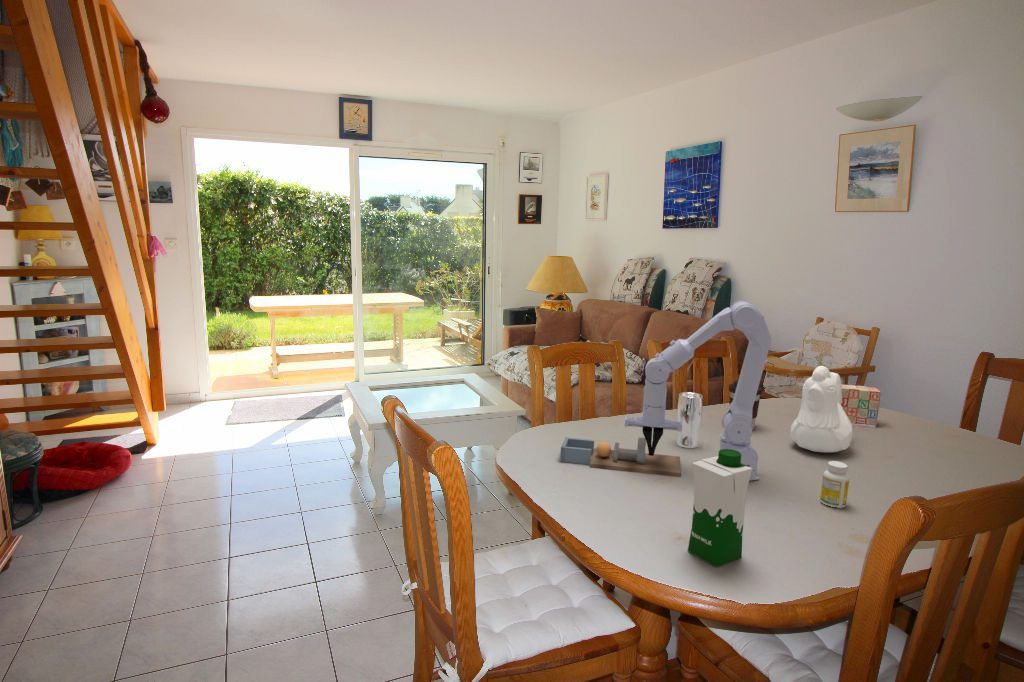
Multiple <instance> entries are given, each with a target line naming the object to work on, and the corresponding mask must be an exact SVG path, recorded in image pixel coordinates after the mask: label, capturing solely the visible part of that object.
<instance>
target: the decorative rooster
mask: <svg viewBox="0 0 1024 682" xmlns="http://www.w3.org/2000/svg"><path fill="white" fill-rule="evenodd" d="M841 380H842V379H841V377H840V374H839V373H837V372H834V371H833V372H831V371H830V370H829V368H827V366H824V365H818V366H816V367H815V369H814V370H813V371H812V375H811V376H809V377H808V378H806V380H805V381H804V384H803V386H802V394H801V404H800V405H801V406H800V407H799V411H798V414H797V417H796V418H795V419H794V420H793V422H792V424H791V426H790V432H789V434H790V435H789V437H790V440H791V441H793V442H794V443H796V445H797V446H798V447H800V448H802V449H806V450H808V451H811V452H815V453H817V452H818V453H838V452H840V451H845V450H847V449H848V448H849V446H850V444H851V442H852V440H853V425H852V424H851V422H850V420H849V419H848V417H847V415H846V413H845V412H844V410H843V408H842V406H841V403H842V393H841V392H842V385H843V384H842V381H841ZM841 384H842V385H841Z"/></svg>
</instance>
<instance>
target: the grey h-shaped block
mask: <svg viewBox="0 0 1024 682" xmlns="http://www.w3.org/2000/svg"><path fill="white" fill-rule="evenodd" d="M646 444H647V442H646V439H645V437H640V436H639V437H638V438H637V448H636V449H631V448H623V447H620V442H615V443H614V448H613V450H614V458H613V461H617V459H621V460H631V461H637V463H641V464H644V463H645V453H646V446H647V445H646Z"/></svg>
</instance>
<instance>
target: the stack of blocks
mask: <svg viewBox="0 0 1024 682" xmlns="http://www.w3.org/2000/svg"><path fill="white" fill-rule="evenodd" d="M841 385H842V392H841V393H842V403H841V406H842V408H843V410H844V412H845V413H846V415H847V417H848V419H849V420H850V422H851V423H853V424H866V425H876V426H877V423H878V417H879V410H880V404H881V394H882V393H881V392H882V391H880V390H879V389H878V388H877V387H871V386H866V385H851V384H842V383H841Z"/></svg>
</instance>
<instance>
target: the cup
mask: <svg viewBox="0 0 1024 682" xmlns="http://www.w3.org/2000/svg"><path fill="white" fill-rule="evenodd" d="M594 448H595V440H594V439H587V438H575V437H566V436H565V437H564V440H563V442H562V444H561V446H560V457H559V458H560V462H559V463H570V464H579V465H589V466H590V462H591V458H592V455H593V451H594Z"/></svg>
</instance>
